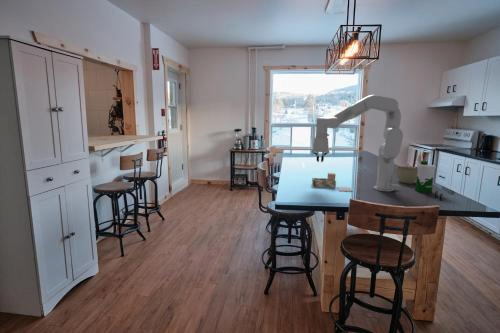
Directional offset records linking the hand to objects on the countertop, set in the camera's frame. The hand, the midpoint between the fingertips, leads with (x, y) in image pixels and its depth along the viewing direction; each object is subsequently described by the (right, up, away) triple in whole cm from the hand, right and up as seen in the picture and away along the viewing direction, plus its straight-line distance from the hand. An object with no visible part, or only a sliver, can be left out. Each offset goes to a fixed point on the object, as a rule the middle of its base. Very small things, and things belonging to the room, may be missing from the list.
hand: (319, 161), depth 204 cm
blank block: (+8, -17, +2) cm, 19 cm away
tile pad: (+15, -19, -7) cm, 25 cm away
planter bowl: (+69, -15, +16) cm, 73 cm away
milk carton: (+67, -20, -9) cm, 70 cm away
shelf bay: (+3, -17, +3) cm, 17 cm away
